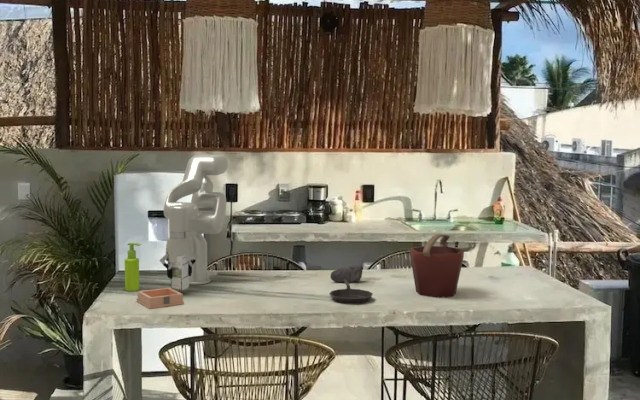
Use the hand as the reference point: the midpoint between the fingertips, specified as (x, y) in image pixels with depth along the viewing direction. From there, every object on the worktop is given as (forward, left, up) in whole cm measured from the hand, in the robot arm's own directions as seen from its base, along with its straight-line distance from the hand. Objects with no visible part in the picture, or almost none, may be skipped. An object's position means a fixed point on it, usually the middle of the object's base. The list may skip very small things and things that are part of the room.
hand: (179, 276), depth 287 cm
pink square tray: (+13, +11, -7) cm, 18 cm away
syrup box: (0, 0, -5) cm, 5 cm away
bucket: (-93, +56, -7) cm, 109 cm away
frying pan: (-58, +40, -8) cm, 71 cm away
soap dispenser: (+14, -17, -7) cm, 23 cm away
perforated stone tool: (-73, +18, -8) cm, 76 cm away
